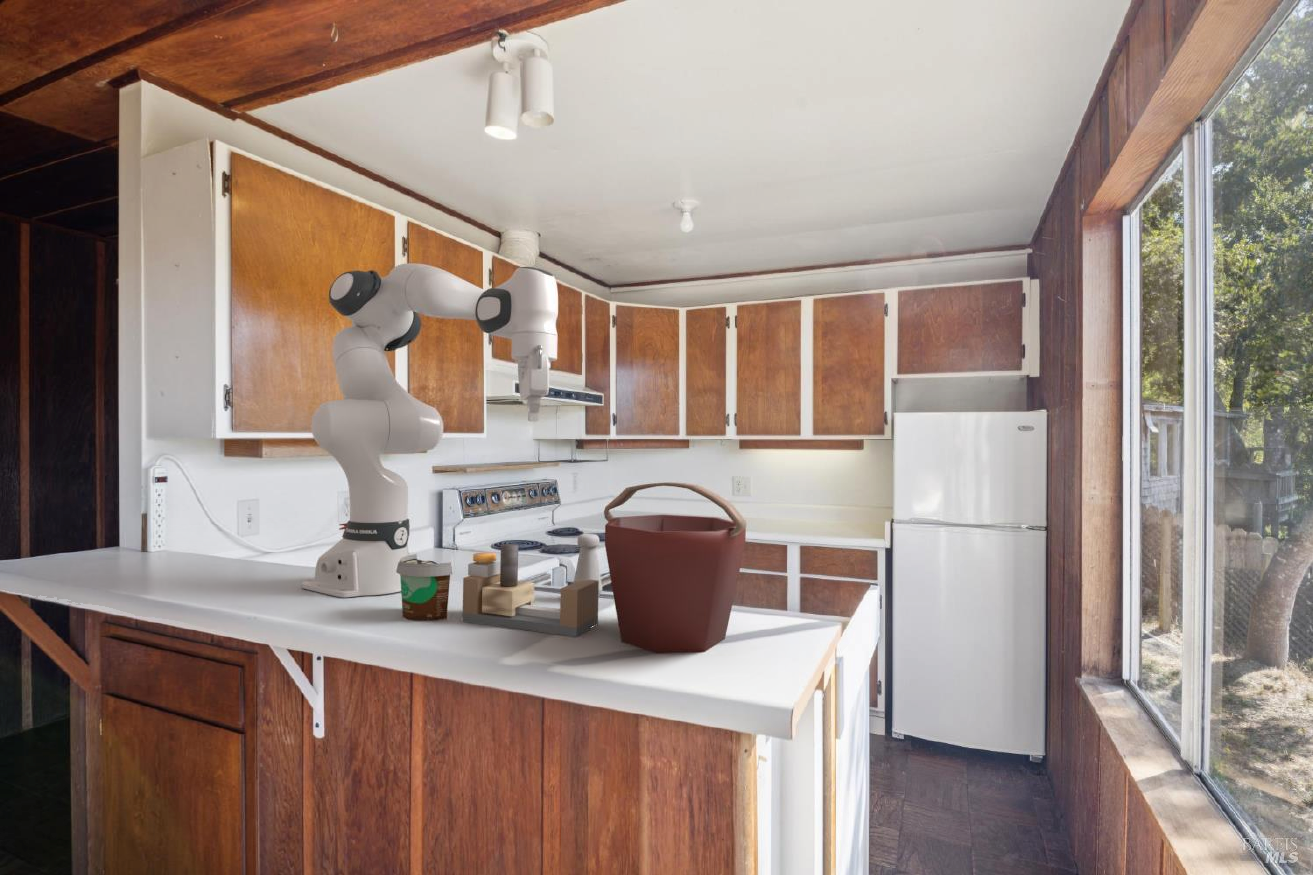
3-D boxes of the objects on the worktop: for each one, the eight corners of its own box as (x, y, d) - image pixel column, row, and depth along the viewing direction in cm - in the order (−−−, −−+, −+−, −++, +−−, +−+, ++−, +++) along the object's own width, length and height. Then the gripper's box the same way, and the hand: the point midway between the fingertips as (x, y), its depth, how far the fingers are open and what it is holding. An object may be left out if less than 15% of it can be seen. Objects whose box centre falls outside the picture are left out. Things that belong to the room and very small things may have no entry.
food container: (382, 613, 116) (383, 557, 116) (413, 607, 121) (415, 553, 121) (418, 627, 108) (420, 567, 108) (451, 620, 113) (452, 562, 113)
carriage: (481, 612, 111) (483, 547, 111) (505, 602, 118) (506, 541, 118) (511, 616, 109) (513, 549, 109) (533, 606, 116) (535, 543, 116)
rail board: (460, 620, 112) (461, 565, 112) (487, 609, 120) (488, 558, 120) (576, 636, 105) (577, 577, 105) (597, 624, 112) (598, 568, 112)
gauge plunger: (468, 572, 114) (468, 555, 114) (481, 568, 118) (482, 551, 118) (487, 574, 113) (487, 557, 113) (500, 570, 117) (500, 553, 117)
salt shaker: (597, 604, 125) (598, 537, 125) (568, 602, 126) (569, 535, 126) (605, 597, 131) (606, 533, 131) (578, 595, 132) (579, 531, 132)
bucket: (572, 633, 106) (574, 481, 106) (662, 609, 123) (664, 476, 123) (686, 671, 90) (690, 491, 90) (773, 637, 106) (776, 484, 106)
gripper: (557, 344, 118) (556, 420, 118) (544, 357, 138) (543, 422, 138) (522, 342, 116) (521, 419, 116) (514, 355, 136) (513, 422, 136)
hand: (533, 421), depth 127 cm, fingers closed
